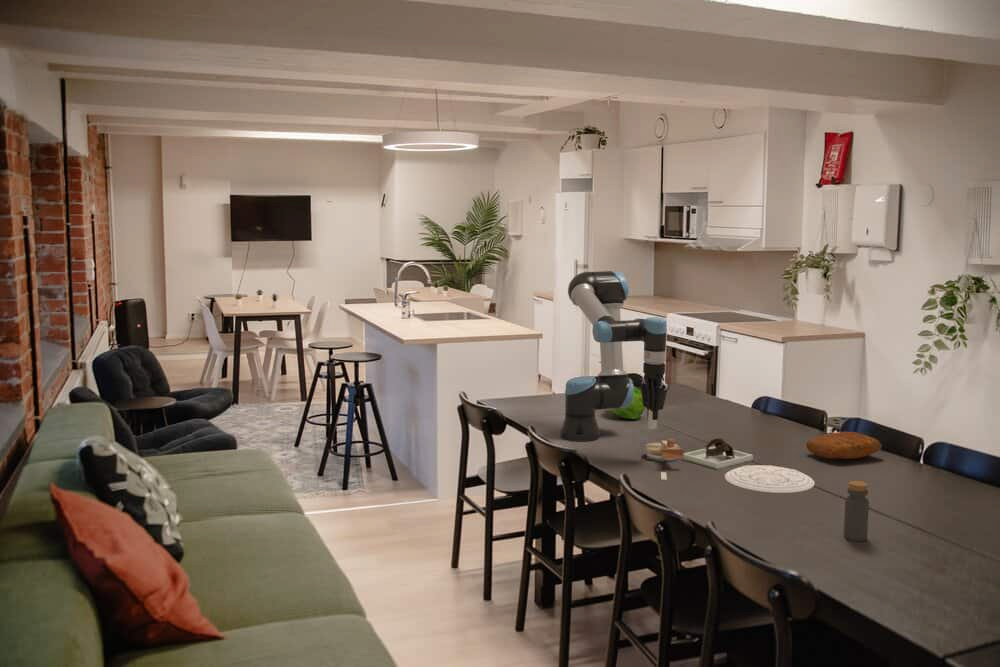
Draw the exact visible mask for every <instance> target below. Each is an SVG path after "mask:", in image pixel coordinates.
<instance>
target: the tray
mask: <svg viewBox="0 0 1000 667" xmlns="http://www.w3.org/2000/svg"><path fill="white" fill-rule="evenodd" d="M706 448H707V447H705V448H701V449H697V450H693V451H687V452H685V453H684V452H683V458H681V460H682V461H686V462H690V463H693V464H697V465H700V466H703V467H707V468H710V469H714V470H720V469H724V468H725V469H726V468H729V467H733V466H736V465H740V464H745V463H748V462H753V461H754V454H751V453H747V452H742V451H739V450H735V449H733V452H734V457H735V458H734V459H733V457H732V456H726V453H725V451H724V452H723V455H717V456H713V457H712V456H708V458H707V457H706ZM715 448H716V447H715V445H714V446H710V447H709V448H708V449H715ZM752 460H753V461H752Z"/></svg>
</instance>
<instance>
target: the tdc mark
mask: <svg viewBox="0 0 1000 667" xmlns="http://www.w3.org/2000/svg"><path fill="white" fill-rule="evenodd" d="M667 479H668V478H667V472H666V471H665V472H664V471H660V480H661V481H667Z"/></svg>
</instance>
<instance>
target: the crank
mask: <svg viewBox="0 0 1000 667" xmlns="http://www.w3.org/2000/svg"><path fill="white" fill-rule="evenodd" d="M684 450H685V449H684V448H682V447H681V446H680V445H678V444H675V439H673V438H668V439H664V440H663V439H661V440H660V441H658V442H657V441H655V442H649V443H646V444H645V452H646V453H647V452H649V453H652V454H658V455H662V458H678V459H682V458H683V453H684V452H685V451H684Z"/></svg>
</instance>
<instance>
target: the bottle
mask: <svg viewBox="0 0 1000 667" xmlns="http://www.w3.org/2000/svg"><path fill="white" fill-rule="evenodd" d="M868 485H869V484H868V483H866V482H865V481H861V480H860V481H859V480H851V481H848V488H847V491H846V493H847V494H848V496H846V497H845V501H844V503H845V504H844V523H843V537H844V538H845V539H846V540H849V541H853V542H865V541H866V540H868V531H869V530H868V529H869V508H870V501H869V499H868V498H867V497H866V496H868V495H869V490H868V489H867V488H868Z"/></svg>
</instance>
